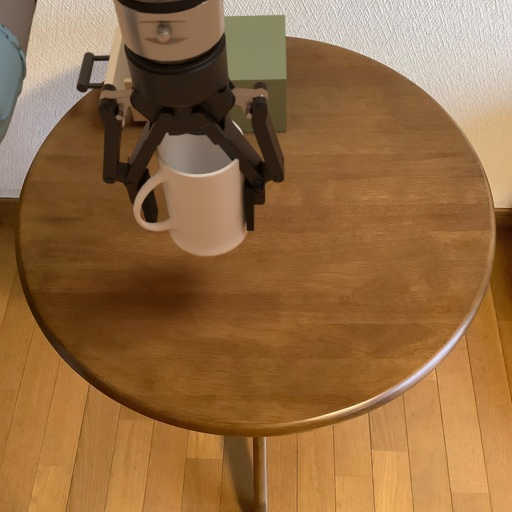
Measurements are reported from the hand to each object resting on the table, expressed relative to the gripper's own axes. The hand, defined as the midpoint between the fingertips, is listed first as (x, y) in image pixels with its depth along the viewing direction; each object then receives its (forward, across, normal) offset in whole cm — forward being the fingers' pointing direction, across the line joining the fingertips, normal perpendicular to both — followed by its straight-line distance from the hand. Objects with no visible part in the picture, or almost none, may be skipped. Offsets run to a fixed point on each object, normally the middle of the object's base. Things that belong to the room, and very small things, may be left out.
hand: (201, 220), depth 65 cm
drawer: (+14, -11, +34) cm, 38 cm away
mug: (+2, -1, 0) cm, 2 cm away
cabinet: (+15, +2, +34) cm, 37 cm away
